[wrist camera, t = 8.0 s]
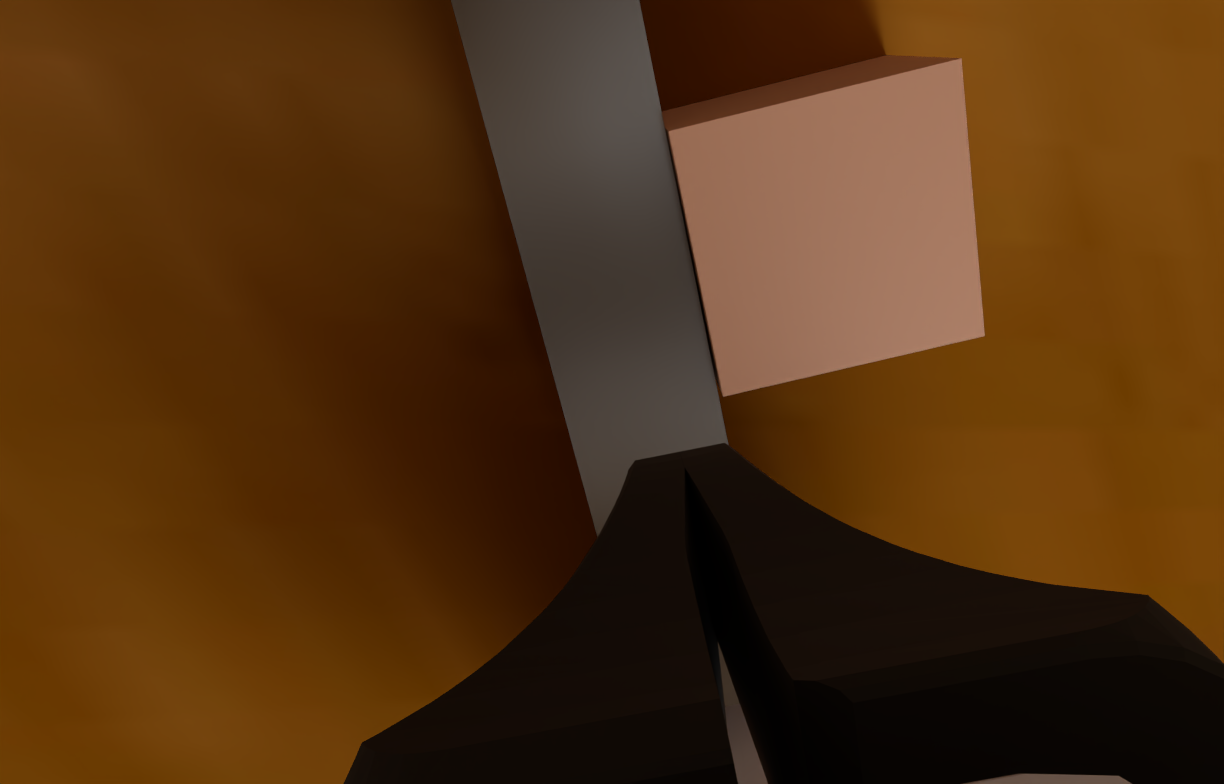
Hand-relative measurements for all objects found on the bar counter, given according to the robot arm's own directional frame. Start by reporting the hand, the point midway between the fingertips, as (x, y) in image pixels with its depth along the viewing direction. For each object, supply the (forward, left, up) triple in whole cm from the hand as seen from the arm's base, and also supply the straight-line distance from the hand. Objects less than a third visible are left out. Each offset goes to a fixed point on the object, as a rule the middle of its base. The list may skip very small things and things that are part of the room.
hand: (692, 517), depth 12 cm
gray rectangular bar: (+2, 0, -9) cm, 9 cm away
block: (+2, -4, -9) cm, 10 cm away
